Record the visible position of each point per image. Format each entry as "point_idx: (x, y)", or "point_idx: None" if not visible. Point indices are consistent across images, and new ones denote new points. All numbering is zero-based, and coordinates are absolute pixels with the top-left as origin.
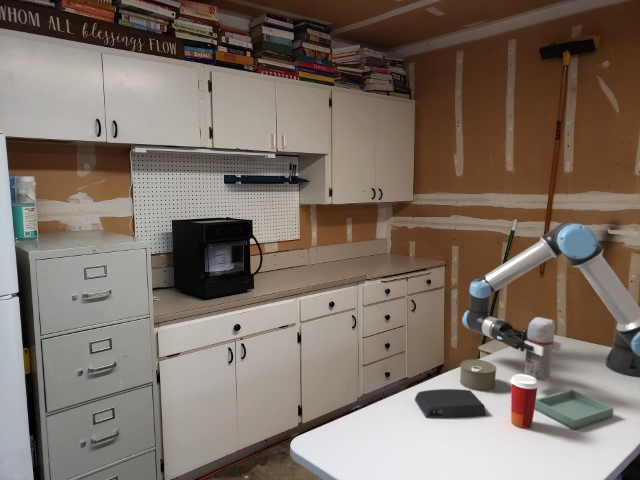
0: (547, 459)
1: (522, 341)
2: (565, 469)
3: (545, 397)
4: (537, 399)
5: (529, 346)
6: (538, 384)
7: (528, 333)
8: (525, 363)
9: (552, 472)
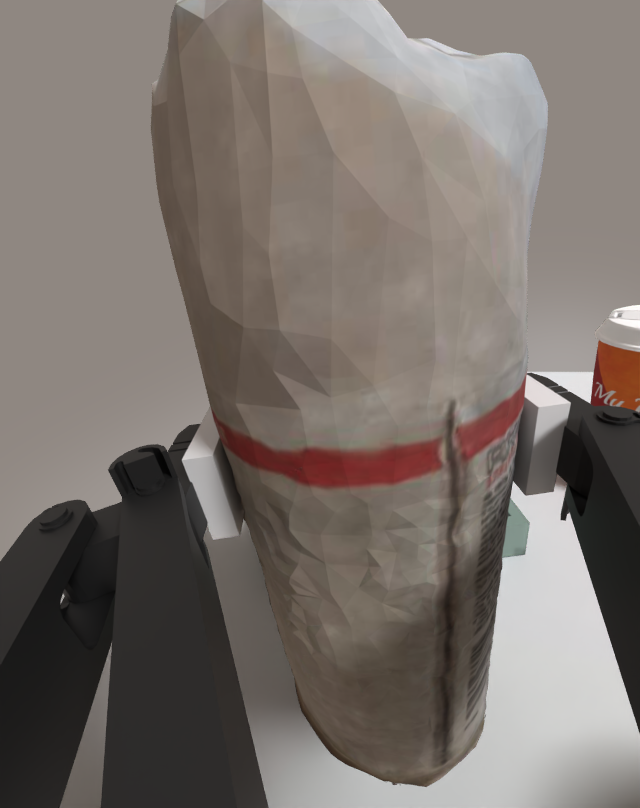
0: (589, 391)
1: (625, 409)
2: (559, 377)
3: None
4: (508, 520)
5: (547, 378)
6: (598, 327)
7: (526, 306)
8: (485, 662)
9: (593, 374)
